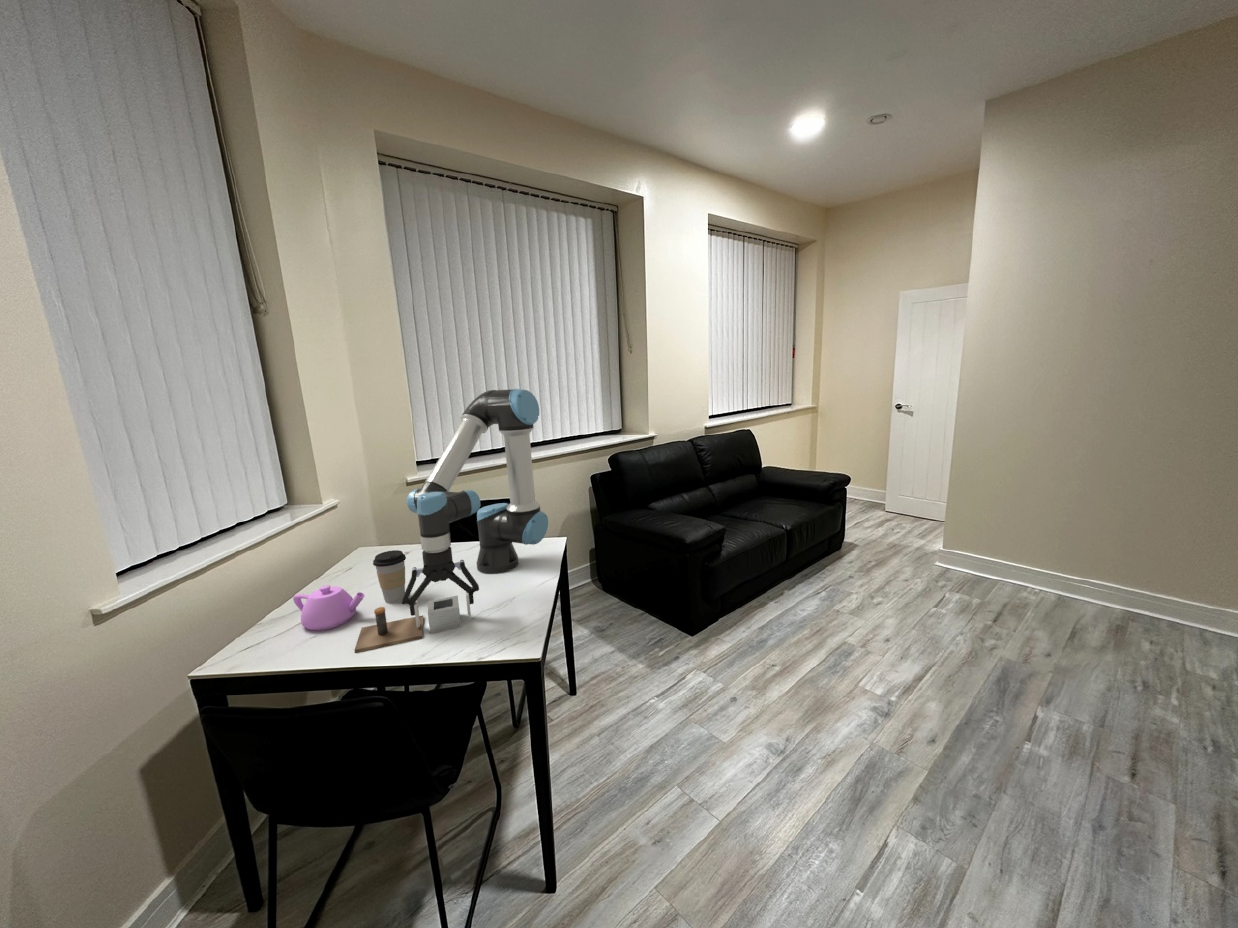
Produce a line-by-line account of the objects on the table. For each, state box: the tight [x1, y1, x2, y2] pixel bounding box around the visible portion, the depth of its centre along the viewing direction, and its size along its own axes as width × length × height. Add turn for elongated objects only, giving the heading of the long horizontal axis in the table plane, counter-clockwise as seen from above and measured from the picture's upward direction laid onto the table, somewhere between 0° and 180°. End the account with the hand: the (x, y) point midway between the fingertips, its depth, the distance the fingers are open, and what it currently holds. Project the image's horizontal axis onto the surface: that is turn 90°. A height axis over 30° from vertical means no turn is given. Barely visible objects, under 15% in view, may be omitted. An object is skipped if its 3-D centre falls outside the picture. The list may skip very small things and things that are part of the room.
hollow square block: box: [427, 595, 462, 634], centre depth 130 cm, size 8×8×6 cm
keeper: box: [354, 606, 424, 653], centre depth 125 cm, size 16×12×8 cm
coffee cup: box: [372, 549, 407, 604], centre depth 146 cm, size 9×9×15 cm
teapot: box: [292, 584, 365, 631], centre depth 134 cm, size 14×20×11 cm
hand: (444, 619), depth 130 cm, fingers open, 13 cm apart
